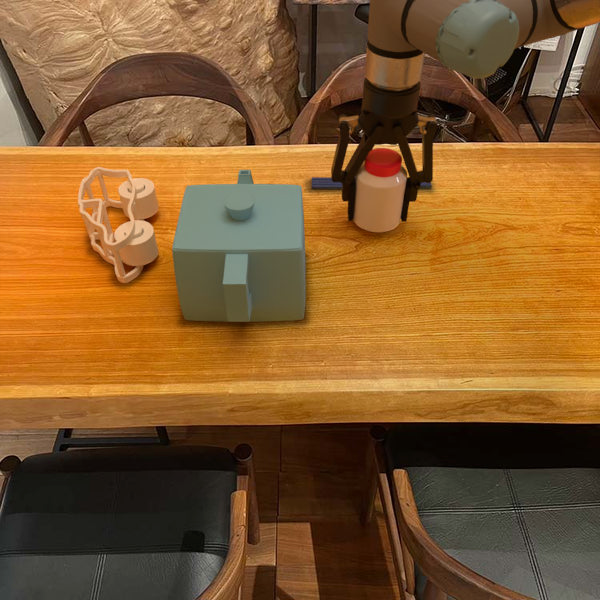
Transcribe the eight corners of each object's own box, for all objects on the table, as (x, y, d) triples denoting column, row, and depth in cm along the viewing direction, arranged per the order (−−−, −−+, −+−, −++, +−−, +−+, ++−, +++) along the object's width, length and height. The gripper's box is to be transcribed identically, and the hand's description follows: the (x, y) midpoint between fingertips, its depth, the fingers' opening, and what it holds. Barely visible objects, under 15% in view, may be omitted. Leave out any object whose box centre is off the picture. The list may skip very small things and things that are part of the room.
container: (177, 347, 77) (156, 261, 66) (199, 227, 95) (185, 142, 83) (306, 347, 77) (307, 260, 66) (304, 227, 95) (305, 142, 84)
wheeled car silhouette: (160, 279, 86) (151, 241, 81) (83, 287, 85) (69, 249, 80) (160, 198, 100) (152, 161, 95) (94, 205, 99) (82, 167, 93)
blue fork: (429, 180, 103) (429, 177, 103) (431, 190, 102) (431, 186, 101) (311, 180, 104) (311, 176, 103) (311, 189, 102) (311, 185, 101)
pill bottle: (343, 221, 93) (347, 162, 85) (366, 197, 98) (372, 138, 90) (387, 238, 90) (395, 178, 82) (408, 212, 95) (418, 153, 87)
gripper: (465, 66, 80) (437, 202, 96) (314, 65, 80) (312, 201, 97) (476, 92, 75) (444, 231, 91) (314, 91, 75) (312, 230, 91)
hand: (376, 215), depth 94 cm, fingers closed on pill bottle, 8 cm apart
